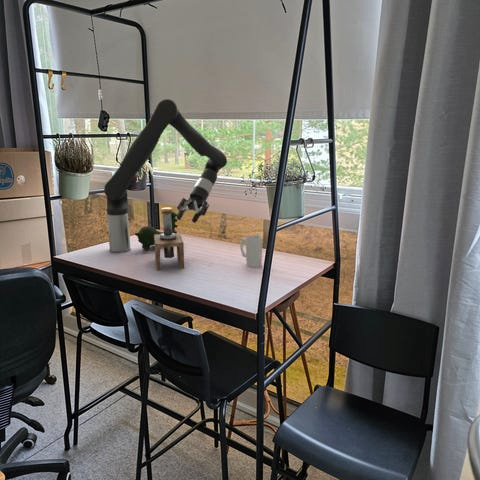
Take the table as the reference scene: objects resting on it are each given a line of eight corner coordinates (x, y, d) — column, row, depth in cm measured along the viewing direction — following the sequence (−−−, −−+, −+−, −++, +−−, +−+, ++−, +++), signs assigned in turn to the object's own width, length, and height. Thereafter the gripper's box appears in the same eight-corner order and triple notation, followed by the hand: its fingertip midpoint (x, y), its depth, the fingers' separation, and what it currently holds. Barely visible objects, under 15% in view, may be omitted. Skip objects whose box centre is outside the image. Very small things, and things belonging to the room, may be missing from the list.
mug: (265, 264, 178) (265, 236, 175) (256, 268, 173) (256, 239, 170) (245, 260, 184) (245, 233, 181) (236, 264, 178) (236, 236, 175)
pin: (161, 259, 175) (158, 210, 170) (160, 254, 181) (158, 207, 176) (178, 258, 177) (175, 209, 171) (176, 253, 183) (174, 206, 178)
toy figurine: (167, 243, 217) (128, 250, 198) (168, 206, 214) (128, 209, 194) (181, 246, 212) (141, 253, 192) (182, 208, 208) (141, 211, 188)
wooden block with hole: (156, 270, 171) (155, 244, 168) (155, 259, 186) (154, 234, 183) (184, 268, 173) (183, 242, 171) (180, 257, 188) (179, 233, 186)
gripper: (185, 183, 192) (169, 213, 186) (210, 187, 184) (194, 218, 178) (193, 193, 197) (177, 222, 192) (218, 197, 190) (202, 227, 184)
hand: (185, 220), depth 185 cm, fingers open, 8 cm apart
